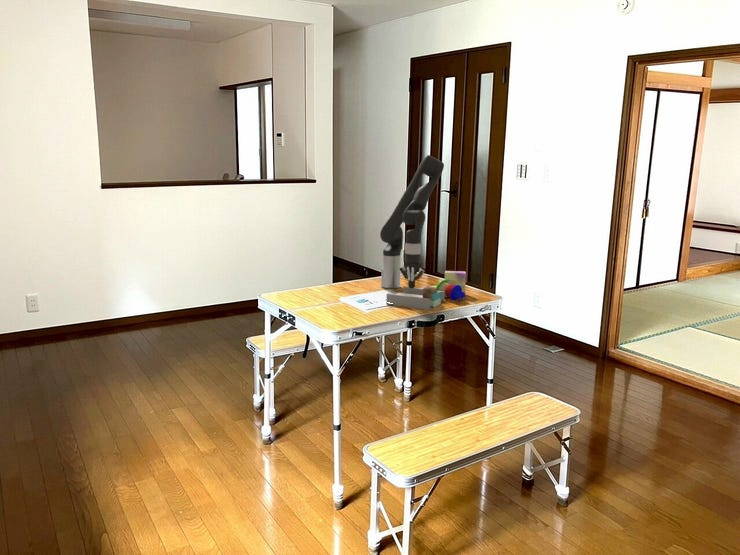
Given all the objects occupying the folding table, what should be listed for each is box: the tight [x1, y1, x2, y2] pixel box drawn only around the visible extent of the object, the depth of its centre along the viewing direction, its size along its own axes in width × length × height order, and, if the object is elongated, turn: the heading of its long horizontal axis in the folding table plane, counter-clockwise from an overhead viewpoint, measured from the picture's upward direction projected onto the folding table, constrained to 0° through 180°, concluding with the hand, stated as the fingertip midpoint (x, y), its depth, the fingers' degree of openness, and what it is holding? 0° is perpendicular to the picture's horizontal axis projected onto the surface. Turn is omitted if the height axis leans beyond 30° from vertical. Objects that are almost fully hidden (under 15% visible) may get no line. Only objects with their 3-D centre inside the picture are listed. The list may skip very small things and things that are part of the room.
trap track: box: [386, 286, 446, 311], centre depth 297 cm, size 22×18×6 cm
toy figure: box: [435, 279, 466, 302], centre depth 304 cm, size 9×10×15 cm
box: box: [444, 270, 467, 293], centre depth 313 cm, size 10×6×12 cm, turn 84°
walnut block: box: [422, 286, 437, 300], centre depth 292 cm, size 5×5×5 cm
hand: (411, 288), depth 296 cm, fingers closed
